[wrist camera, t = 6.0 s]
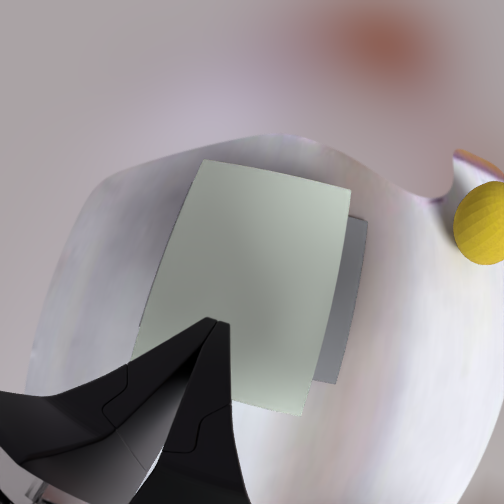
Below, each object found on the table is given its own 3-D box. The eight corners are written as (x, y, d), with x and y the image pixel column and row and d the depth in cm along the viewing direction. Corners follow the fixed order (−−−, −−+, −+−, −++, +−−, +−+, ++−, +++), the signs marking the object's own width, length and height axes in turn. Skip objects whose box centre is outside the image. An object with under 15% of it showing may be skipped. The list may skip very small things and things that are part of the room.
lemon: (439, 202, 19) (490, 147, 11) (483, 228, 18) (538, 186, 10) (431, 261, 17) (499, 217, 10) (479, 286, 16) (546, 256, 9)
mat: (333, 383, 15) (335, 384, 15) (142, 327, 17) (138, 326, 17) (365, 225, 18) (367, 221, 18) (194, 185, 20) (192, 181, 20)
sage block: (300, 416, 10) (351, 190, 13) (130, 360, 11) (203, 158, 14) (291, 395, 15) (332, 228, 18) (167, 357, 16) (218, 201, 19)
